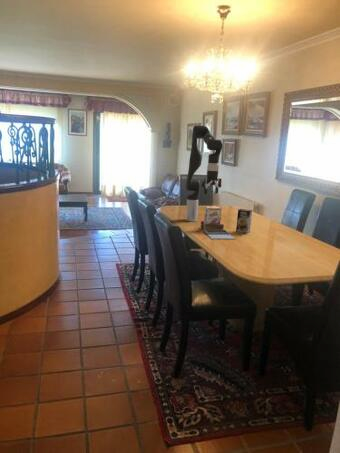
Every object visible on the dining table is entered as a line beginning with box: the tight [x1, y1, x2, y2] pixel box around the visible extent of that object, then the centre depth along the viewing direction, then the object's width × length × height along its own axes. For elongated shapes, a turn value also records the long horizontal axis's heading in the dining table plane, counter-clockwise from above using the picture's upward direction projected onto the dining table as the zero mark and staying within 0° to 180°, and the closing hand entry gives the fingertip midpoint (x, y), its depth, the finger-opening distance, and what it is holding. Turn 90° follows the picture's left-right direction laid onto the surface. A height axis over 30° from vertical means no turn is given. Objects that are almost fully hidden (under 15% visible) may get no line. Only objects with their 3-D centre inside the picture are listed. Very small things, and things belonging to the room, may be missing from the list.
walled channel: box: [200, 220, 225, 230], centre depth 270 cm, size 11×14×5 cm
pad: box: [207, 234, 236, 240], centre depth 249 cm, size 10×16×1 cm, turn 100°
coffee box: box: [235, 208, 253, 234], centre depth 267 cm, size 9×6×16 cm
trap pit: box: [203, 228, 231, 236], centre depth 259 cm, size 10×16×2 cm, turn 100°
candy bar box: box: [203, 206, 222, 224], centre depth 269 cm, size 11×5×16 cm, turn 100°
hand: (210, 193), depth 252 cm, fingers open, 8 cm apart
